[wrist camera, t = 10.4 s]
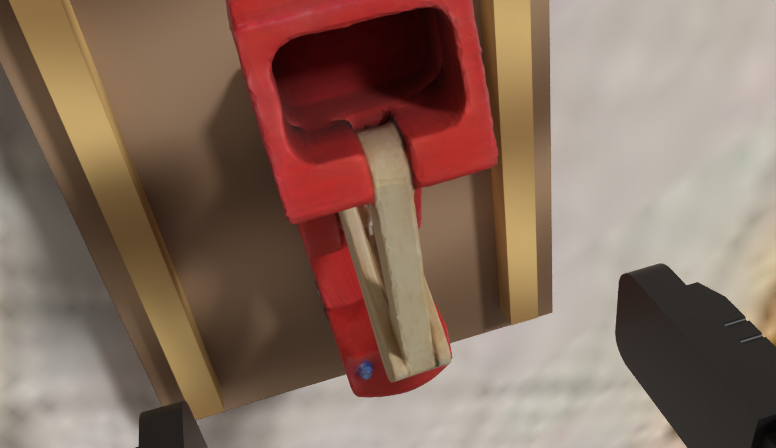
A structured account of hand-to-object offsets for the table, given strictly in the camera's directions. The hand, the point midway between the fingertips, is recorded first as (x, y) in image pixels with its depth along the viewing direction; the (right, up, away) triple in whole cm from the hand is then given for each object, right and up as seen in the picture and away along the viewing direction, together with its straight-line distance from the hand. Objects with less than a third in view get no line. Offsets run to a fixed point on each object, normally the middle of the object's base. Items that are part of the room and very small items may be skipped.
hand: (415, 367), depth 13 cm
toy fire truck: (-2, +5, +8) cm, 10 cm away
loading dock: (-3, +6, +10) cm, 12 cm away
